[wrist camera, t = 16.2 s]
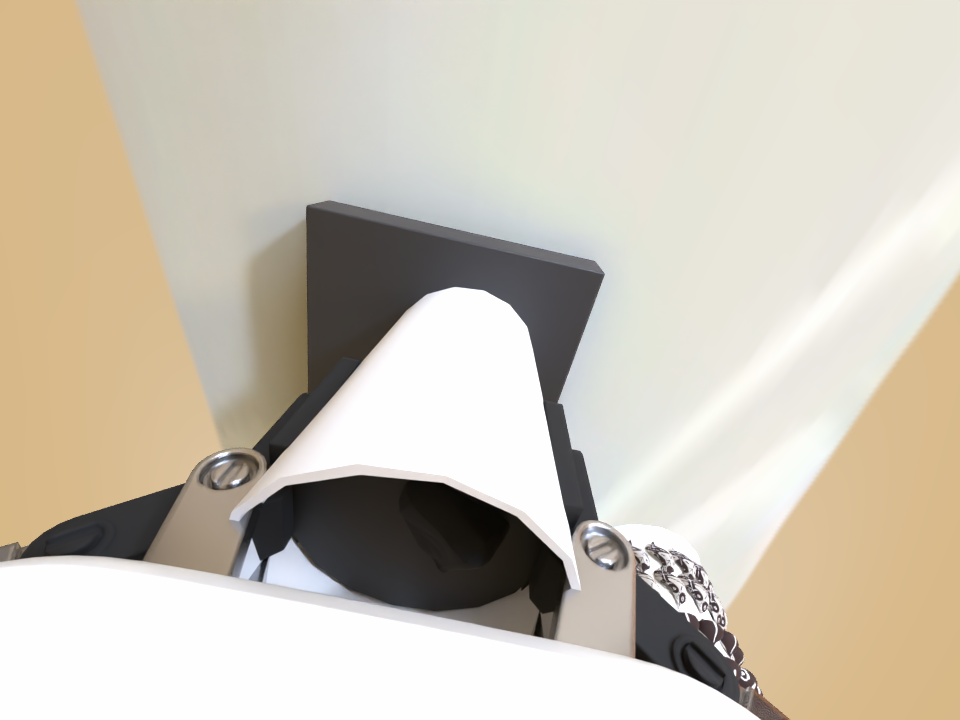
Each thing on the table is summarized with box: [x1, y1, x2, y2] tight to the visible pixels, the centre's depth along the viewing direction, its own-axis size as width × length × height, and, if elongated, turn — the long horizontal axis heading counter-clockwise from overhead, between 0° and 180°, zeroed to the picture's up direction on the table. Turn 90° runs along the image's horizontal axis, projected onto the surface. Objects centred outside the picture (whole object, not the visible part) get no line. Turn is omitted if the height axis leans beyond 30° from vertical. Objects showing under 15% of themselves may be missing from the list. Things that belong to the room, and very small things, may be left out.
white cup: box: [229, 287, 581, 639], centre depth 11 cm, size 7×7×10 cm
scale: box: [306, 201, 604, 403], centre depth 17 cm, size 15×11×4 cm
